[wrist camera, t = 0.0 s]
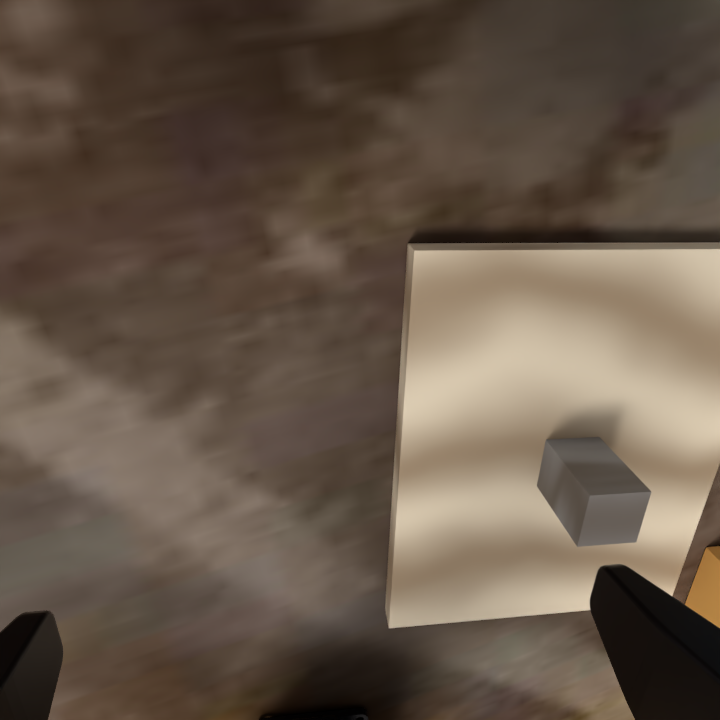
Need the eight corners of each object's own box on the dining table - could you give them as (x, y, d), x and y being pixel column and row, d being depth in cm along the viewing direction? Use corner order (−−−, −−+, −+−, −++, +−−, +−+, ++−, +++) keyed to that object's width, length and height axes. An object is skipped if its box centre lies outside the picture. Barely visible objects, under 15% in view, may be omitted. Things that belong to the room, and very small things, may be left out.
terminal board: (656, 585, 32) (720, 668, 27) (384, 609, 30) (403, 702, 25) (773, 242, 24) (893, 275, 19) (407, 243, 22) (441, 281, 17)
